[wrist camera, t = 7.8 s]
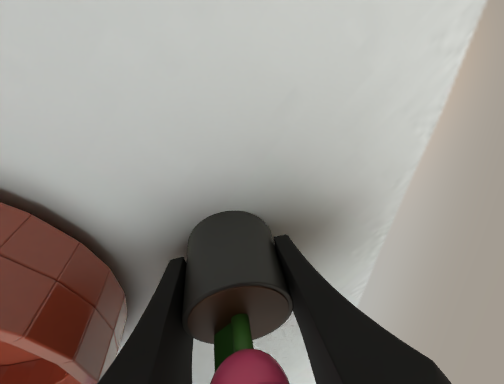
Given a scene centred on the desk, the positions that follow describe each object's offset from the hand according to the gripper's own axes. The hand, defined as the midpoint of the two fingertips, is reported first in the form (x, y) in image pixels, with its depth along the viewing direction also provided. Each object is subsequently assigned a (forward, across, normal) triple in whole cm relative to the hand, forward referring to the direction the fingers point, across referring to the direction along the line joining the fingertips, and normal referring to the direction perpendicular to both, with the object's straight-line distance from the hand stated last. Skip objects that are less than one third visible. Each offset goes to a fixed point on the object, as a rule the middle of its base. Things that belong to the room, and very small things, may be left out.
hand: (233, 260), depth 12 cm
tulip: (+1, 0, 0) cm, 1 cm away
